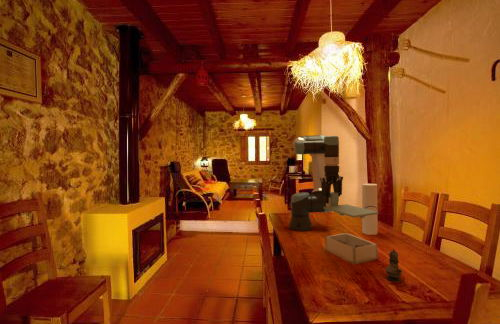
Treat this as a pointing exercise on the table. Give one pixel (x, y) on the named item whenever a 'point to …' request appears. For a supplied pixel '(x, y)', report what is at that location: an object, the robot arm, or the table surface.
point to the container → (371, 204)
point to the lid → (347, 208)
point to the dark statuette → (393, 268)
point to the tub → (351, 248)
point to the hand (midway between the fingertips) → (332, 208)
